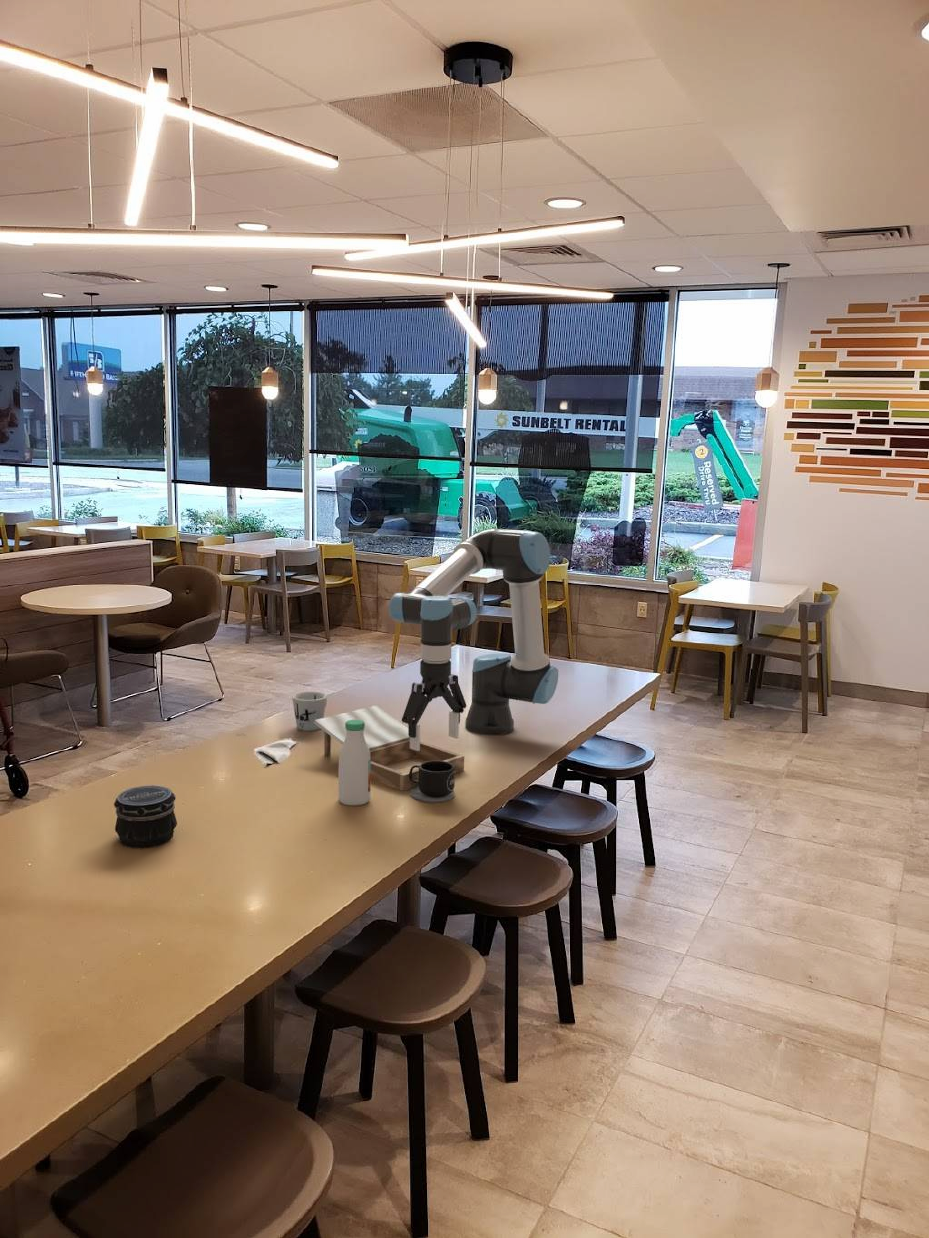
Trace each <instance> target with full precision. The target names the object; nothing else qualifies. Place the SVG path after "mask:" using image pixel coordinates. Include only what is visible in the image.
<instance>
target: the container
mask: <svg viewBox="0 0 929 1238" xmlns="http://www.w3.org/2000/svg"><path fill="white" fill-rule="evenodd" d="M175 801H176V795H175V794H174V792H173V791H172V790H171V789H170V788H168V787H165V786H161V785H153V784H151V785H140V786H134V787H131V788H127V789H125V790H123V791H122V792H120V793H118V795H117V797H116V799H115V801H114V803H113V806H114V808H115V814H116V816H117V817H116V823H115V826H114V831H115V833H117V835H118V837H119V838H118V839H119V843H120V844H121V845H123V846H125V847H128V848H132V849H148V848H149V849H150V848H154V847H158V846H161V845H163V844H166V843H167V842H170V840H171V839H172V838H173V837H174V833H175V828H176V827H177V825H178V821H177V817H176V814H175Z"/></svg>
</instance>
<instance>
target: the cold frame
mask: <svg viewBox="0 0 929 1238" xmlns="http://www.w3.org/2000/svg"><path fill="white" fill-rule="evenodd" d="M349 720H362V721H364V723H365V727H364V732H363V733H364V738H365V741H366V743H367V745H368V747H369V751H370V762H371V777H370V779H371V780H375V781H376V782H377V781H378V782H380V783H383V784H385V785H388V786H390V787H392V788H395V789H398V790H400V791H402V792H403V791H406V790H409V789H410V790H411V789H413V788H414V787H417V786H418V783H415V782H412V781H411V780H410V778H409V772H410V770H408V771H406V772H401V771H399V770H396V769H393V768H392V767H391V768H390V767H388V766H387V765H390V764H394V763H397V762H400V761H403V760H407V759H408V760H409V759H410V758H411V759H412V758H414V757H419V758H421V759H424V760H426V761H446V762H449V763H451V764H453V765H454V766H455V774H457V773H460V772H463V771H464V770H465V756H464V755H462V754H459V753H456V752H453V751H451V750H447V749H443V748H441V747H437V746H434V745H432V744H428V743H426V742H424V741H423V742H422V741H420V750H419V751H416V750H413V749H410V737H409V735H408V733H409V732H408V727H407V726H406V725H404V724H402V722H400V721H399V720H397V719H396V718H395V717H393V716H391V715H390V714H389V713H387V712H385V710H383V709H382V708H380V707H378V706H377V705H372V706H368V707H363V708H359V709H356V710H351V711H347V712H344V713H339V714H333V715H329V716H324V718H321V719H317V720H315V721H314V723H315V724H316V725H317V726H318V727H320V728H321V729H320V730H323V732H324V747H323V748H324V751H323V752H324V756H326V757H330V756H331V755H332V754H331V753H332V752H331V749H332V747H331V744H332V741H331V739H332V738H333V739H334V740H336V741H337V742H338V743H339V744H340V745H342V744H343V742H344V740H345V737H346V731H345V730H346V728H345V723H346V721H349ZM418 777H419V768H416V769H413V771H412V778H413V779H414V780H417V781H418Z"/></svg>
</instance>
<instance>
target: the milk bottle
mask: <svg viewBox="0 0 929 1238" xmlns="http://www.w3.org/2000/svg"><path fill="white" fill-rule="evenodd" d="M364 727H365V723H364V721H362V720H349V721H346V723H345V728H346V730H345V731H346V737H345V740H344V742H343V744H341V747H340V751H339V755H338V788H337V789H338V801H339V802H340V804H342V805H346V806H352V807H353V806H355V807H356V806H363V805H366V804H368V803H369V802H370V800H371V778H370V777H371V762H370V751H369V747H368V745H367V743H366V741H365V738H364V733H363V732H364Z"/></svg>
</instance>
